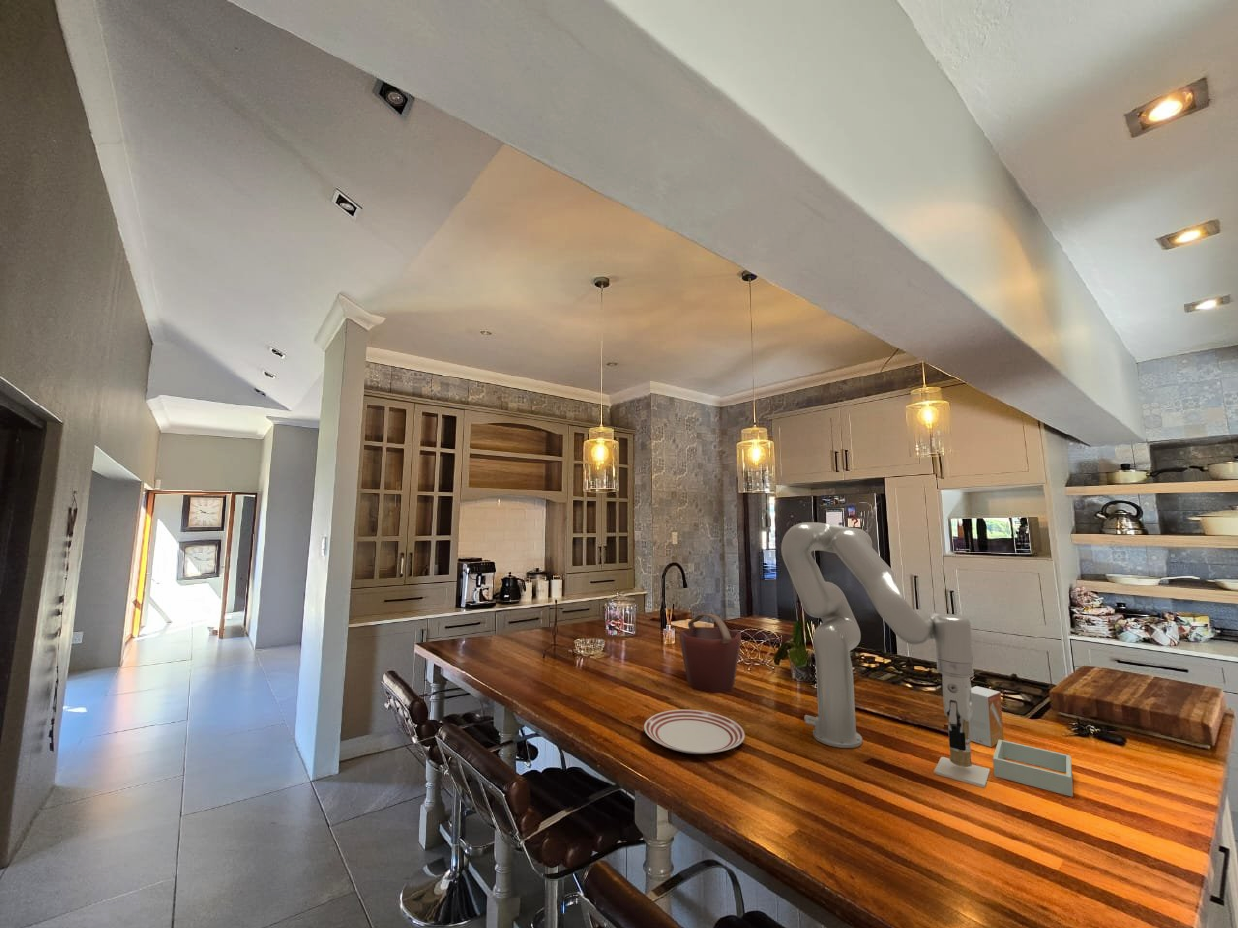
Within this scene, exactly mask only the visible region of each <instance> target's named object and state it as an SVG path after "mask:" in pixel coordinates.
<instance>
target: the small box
mask: <svg viewBox="0 0 1238 928" xmlns="http://www.w3.org/2000/svg"><path fill="white" fill-rule="evenodd" d="M971 691H972V701H973V714H972V716H971V718H970V720H969V731H970V742H974V743H977V744H979V745H983V746H987V747H990V748H992V747H994V746H997V743H998V740H1004V725H1003V723H1004V722H1003V710H1002V692H1001V691H999V690H994V689H990V688H986V687H982V686H978V685H976V686H973V687H972V686H971ZM1004 741H1005V740H1004Z"/></svg>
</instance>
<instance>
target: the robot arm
mask: <svg viewBox="0 0 1238 928" xmlns="http://www.w3.org/2000/svg"><path fill="white" fill-rule="evenodd" d="M780 547H781V556H782V560H783V562H784V565H785V567H786V568H787V572H788V573H789V576H790V579H791V581H792V584H793V587H794V589H795V591H796V594H797V596H798V599H799V601H800V603H801V606H802V608H803V609H804V610H803V611H804V612H805V613H806V614H807V615H809V616H810V617H812V618H815V619H816V618H818V619H821V621H822V622H821V624H819V625H818V626H817V627H816V628H815V630H814V632H813V636H812V648H813V653H814V659H815V668H816V671H815V673H816V689H817V692H816V694H817V714H818V715H817V716H816V717H815V716H813V715H808V714H805V715H804V723H805V725H806V726H811V727H813V730H812V736H813V738H814V739H815V740H816V741H818V743H819V742H820V743H822V744H824V745H826V746H830V747H833V748H841V749H854V748H858V747H861V746H862V744H863V736H861V734H860V733H858V732H857V728H856V727H857V725H856V711H855V710H856V707H855V705H856V703H855V687H854V685H855V682H854V669H853V663H852V659H851V651H852V650H854V649H855V648H857V646H858V645H859V644H860V642H861V638H862V637H861V635H862V633H861V630H860V627H859V624H858V622H857V620H856V618H855V615H854V612H853V611H852V608H851V606H850V604H849V602H848V600H847V597H846V595H845V593H844V592H843V590H842V589H841V588H840V587H839V586H838V585H837V584H834V583H833V582H831V581H825V579H824V576H823V574H822V572H821V569H820V567H819V565H818V563H817V562H816V560H815V559H814V557H813V556H812V552H815V551H821V552H822V551H823V552H828V553H833V554H836V555H837V557H838V558H839V559H840V560H841V561H842V562H843V564H844V565H845V566H846V567H847V568H848V569H849V570H850V572H851V573H852V575H854V577H855V578H856V579H857V580H858V581H859V583H860V584H861V585H862V587H863V588H864V590H865V592H866V594H867V596H868V597H869V599H870V601H871V603H872V604H873V606H874V608H875V609H876V611H877V612H878V614H879V615H880V617H881V618H882V620H883V621H884V622H885V623H886V624H887V626H888V627H889V628H890V629H891V630H892V631H893V633H894V634H895V635H896V636H897V637H898V638H899V639H900V640H902V641H903V642H904V643H906V644H909V645H912V646H919V645H922V644H924V643H926V642H927V641H929V640H935V651H936V652H935V653H936V671H937V672H938V673H940V674H941V675H942V698H943V713H944V715H945V717H947V718H948V717H949V732H948V742H949V743H948V744H950V747H951V748H955V749H959V750H963V751H965V750H966V743H965V733H964V732H963V719H964V720H965V721H969V720H970V718H971V716H972V714H973V701H972V691H971V688H972V683H971V678H973V677H974V676H975V674H974V673H975V672H974V661H973V660H974V659H973V658H974V657H973V644H972V643H973V642H972V641H973V640H972V626H971V622H970V620H969V618H968V617H966V616H964V615H961V614H960V615H959V614H955V613H954V614H952V613H938V612H933V611H929V610H925V609H920V608H918V609H917V608H916V609H914V608H913V607H912V606H911V605H910V604H909V603H908V601H907V600H906V598H905V597H904V596H903V595H902V593H901V591H900V590H899V588H898V585H897V583H896V579H895V578H896V577H895V574H894V571H893V570H892V568H891V567H890V566H889V565H888V564H887V563H886V561H884V560H883V558H882V557H881V556H880V555H879V553H878V552H877V551H876V550H875V549H874V548H873V541H872V538H871V536H870V535H869V533H867V531H865V530H864V529H861V528H857V527H849V526H842V525H837V524H830V523H826V522H825V523H824V522H819V521H818V522H816V521H815V522H814V521H813V522H810V521H809V522H808V521H807V522H799V523H797V524H794V525H793V526H791V527H790V528H789V529H787V531H786V533H785V534H784V536H783V538H782V541H781V546H780ZM948 711H949V712H948ZM957 715H958V716H960V718H957ZM957 721H960V724H959V723H957ZM950 747H949V748H950Z"/></svg>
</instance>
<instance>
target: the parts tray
mask: <svg viewBox="0 0 1238 928" xmlns="http://www.w3.org/2000/svg"><path fill="white" fill-rule="evenodd" d="M1071 756H1072V755H1069V754H1065V753H1061V752H1056V751H1052V750H1047V749H1045V748H1044V749H1043V748H1039V747H1034V746H1030V745H1026V744H1025V745H1024V744H1020V743H1017V742H1012V741H1008V740H998V743H997V744H996V747H995V751H994V754H993V756H992V761H993V763H992V764H993V777H996V778H1000V779H1004V780H1008V781H1011V782H1016V783H1019V784H1023V785H1027V786H1029V787H1034V788H1039V789H1042V790H1046V791H1049V792H1053V793H1057V794H1060V795H1065V796H1068V797H1072V798H1073V797H1074V794H1073V792H1074V791H1073V767H1072V766H1073V765H1072V758H1071ZM1006 759H1007V760H1006ZM1010 760H1011V761H1010ZM1023 763H1024V764H1023ZM1027 764H1028V765H1027ZM1031 765H1033V766H1031ZM1036 766H1037V767H1036ZM1038 767H1039V768H1038ZM1042 768H1043V769H1042ZM1046 769H1047V770H1046ZM1048 769H1049V770H1048ZM1052 770H1053V771H1052ZM1055 771H1056V772H1055Z"/></svg>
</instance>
